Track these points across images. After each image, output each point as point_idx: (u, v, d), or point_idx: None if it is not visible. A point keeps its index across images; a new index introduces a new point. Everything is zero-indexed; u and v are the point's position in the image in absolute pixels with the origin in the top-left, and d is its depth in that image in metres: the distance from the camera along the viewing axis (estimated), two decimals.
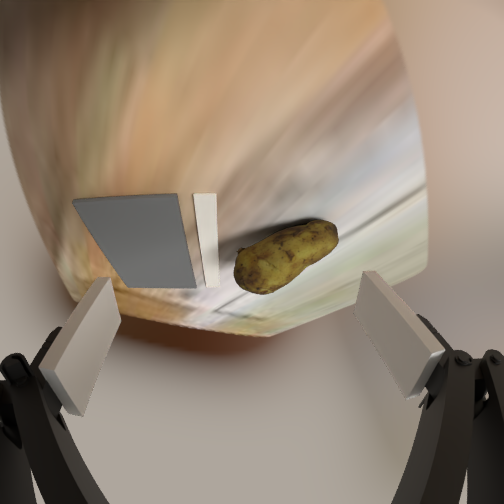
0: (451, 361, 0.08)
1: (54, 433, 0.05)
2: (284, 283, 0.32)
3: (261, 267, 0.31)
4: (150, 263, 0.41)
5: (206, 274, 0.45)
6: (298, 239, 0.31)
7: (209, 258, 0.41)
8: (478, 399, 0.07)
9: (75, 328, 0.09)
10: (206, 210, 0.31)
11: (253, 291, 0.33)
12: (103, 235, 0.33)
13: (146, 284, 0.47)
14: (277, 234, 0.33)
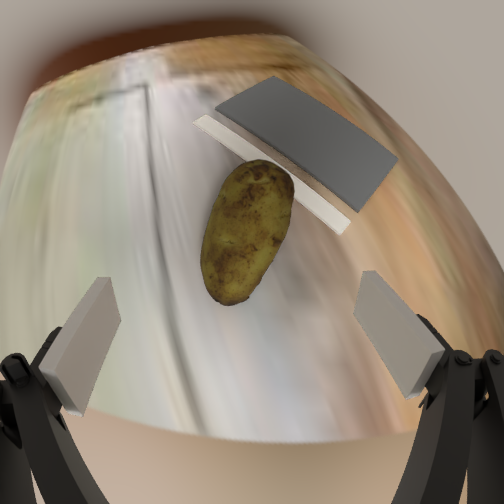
0: (451, 361, 0.08)
1: (54, 433, 0.05)
2: (252, 204, 0.22)
3: (289, 205, 0.24)
4: (293, 118, 0.36)
5: (230, 132, 0.34)
6: (271, 262, 0.24)
7: (256, 156, 0.33)
8: (478, 399, 0.07)
9: (75, 328, 0.09)
10: (328, 213, 0.31)
11: (270, 170, 0.23)
12: (356, 135, 0.36)
13: (265, 88, 0.38)
14: None
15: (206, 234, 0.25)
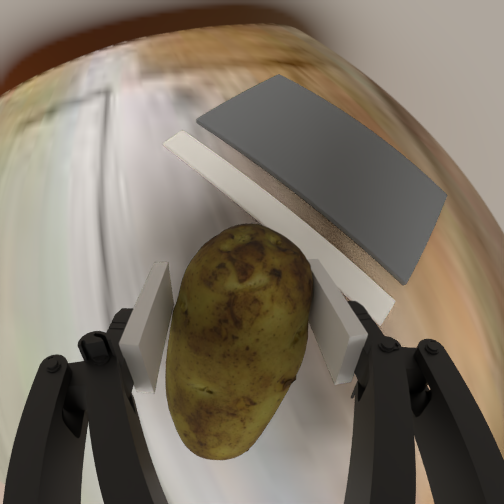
0: (374, 350, 0.09)
1: (128, 418, 0.06)
2: (238, 335, 0.11)
3: (306, 315, 0.13)
4: (310, 136, 0.25)
5: (217, 158, 0.23)
6: None
7: (257, 199, 0.22)
8: (420, 390, 0.09)
9: (149, 306, 0.11)
10: (365, 292, 0.20)
11: (267, 255, 0.12)
12: (395, 161, 0.25)
13: (268, 91, 0.27)
14: None
15: (168, 364, 0.14)
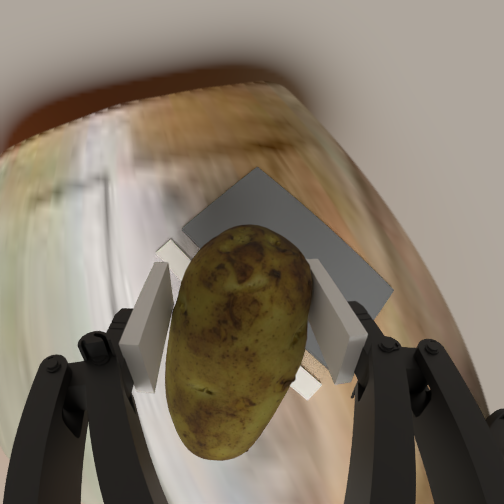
0: (374, 350, 0.09)
1: (128, 418, 0.06)
2: (237, 335, 0.11)
3: (306, 316, 0.13)
4: None
5: None
6: None
7: None
8: (420, 390, 0.09)
9: (149, 306, 0.11)
10: (298, 379, 0.28)
11: (266, 255, 0.12)
12: (349, 263, 0.33)
13: (244, 192, 0.35)
14: None
15: (167, 365, 0.14)
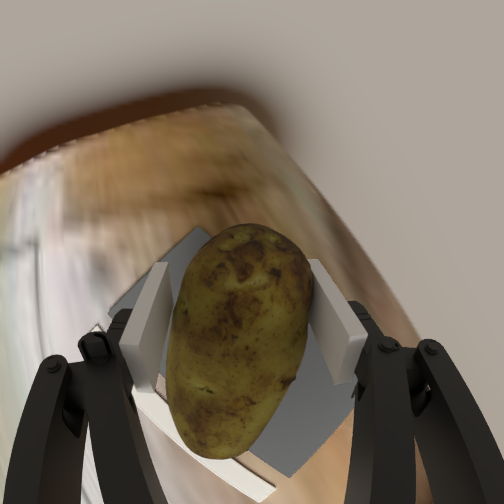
0: (374, 350, 0.09)
1: (128, 418, 0.06)
2: (237, 334, 0.11)
3: (306, 314, 0.13)
4: None
5: None
6: None
7: (160, 412, 0.22)
8: (420, 390, 0.09)
9: (149, 306, 0.11)
10: (247, 484, 0.20)
11: (267, 254, 0.12)
12: (315, 354, 0.25)
13: (180, 264, 0.27)
14: None
15: (168, 364, 0.14)
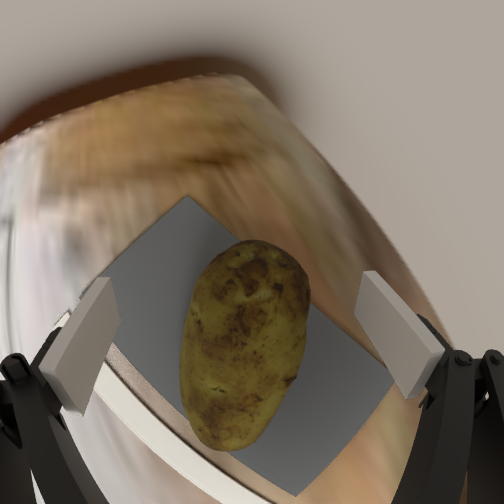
0: (451, 361, 0.08)
1: (54, 433, 0.05)
2: (246, 341, 0.13)
3: (305, 321, 0.15)
4: None
5: None
6: None
7: (138, 418, 0.17)
8: (478, 399, 0.07)
9: (75, 328, 0.09)
10: None
11: (270, 271, 0.14)
12: (327, 347, 0.20)
13: (164, 238, 0.22)
14: None
15: (182, 367, 0.15)
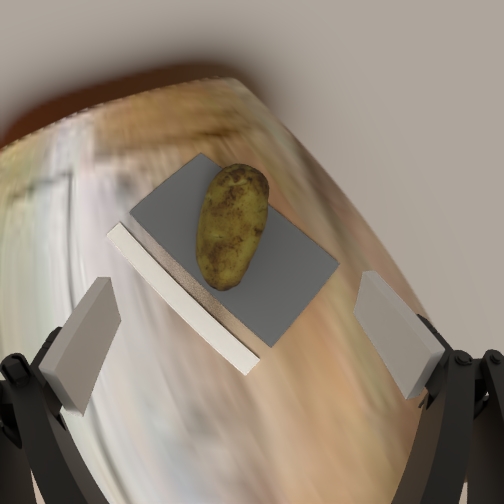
0: (451, 361, 0.08)
1: (54, 433, 0.05)
2: (234, 203, 0.27)
3: (265, 200, 0.28)
4: None
5: (141, 249, 0.32)
6: (255, 249, 0.29)
7: (164, 284, 0.31)
8: (478, 399, 0.07)
9: (75, 328, 0.09)
10: (234, 352, 0.29)
11: (246, 172, 0.28)
12: (288, 238, 0.34)
13: (187, 176, 0.36)
14: None
15: (198, 232, 0.29)
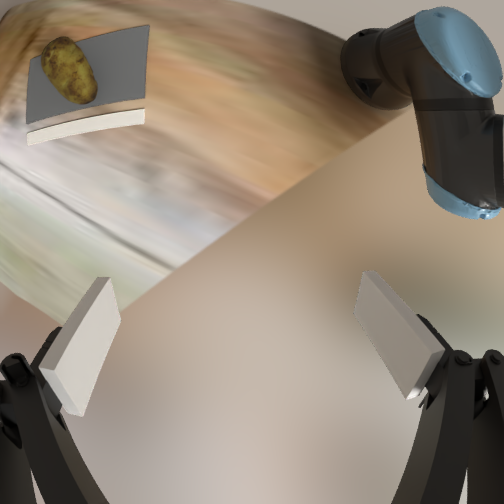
0: (451, 361, 0.08)
1: (54, 433, 0.05)
2: (56, 64, 0.25)
3: (71, 45, 0.25)
4: None
5: (47, 129, 0.35)
6: (89, 67, 0.29)
7: (70, 127, 0.35)
8: (478, 399, 0.07)
9: (75, 328, 0.09)
10: (128, 118, 0.36)
11: (50, 47, 0.23)
12: (108, 42, 0.30)
13: (34, 76, 0.30)
14: None
15: (58, 91, 0.29)
